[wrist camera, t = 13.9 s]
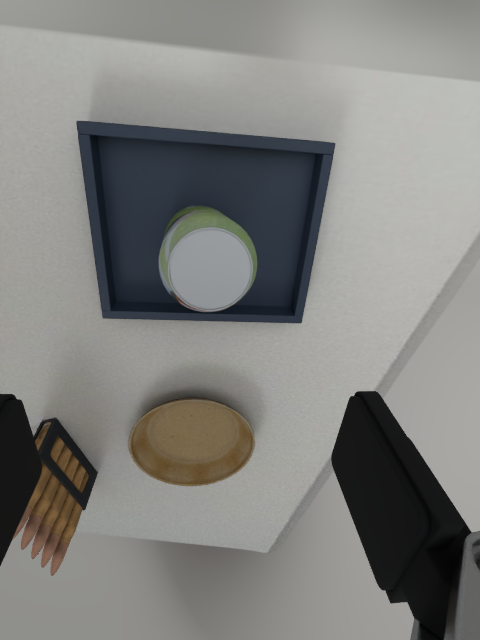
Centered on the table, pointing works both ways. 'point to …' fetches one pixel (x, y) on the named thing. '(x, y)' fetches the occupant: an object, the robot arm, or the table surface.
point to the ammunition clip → (56, 494)
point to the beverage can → (206, 259)
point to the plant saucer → (191, 442)
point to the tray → (210, 190)
